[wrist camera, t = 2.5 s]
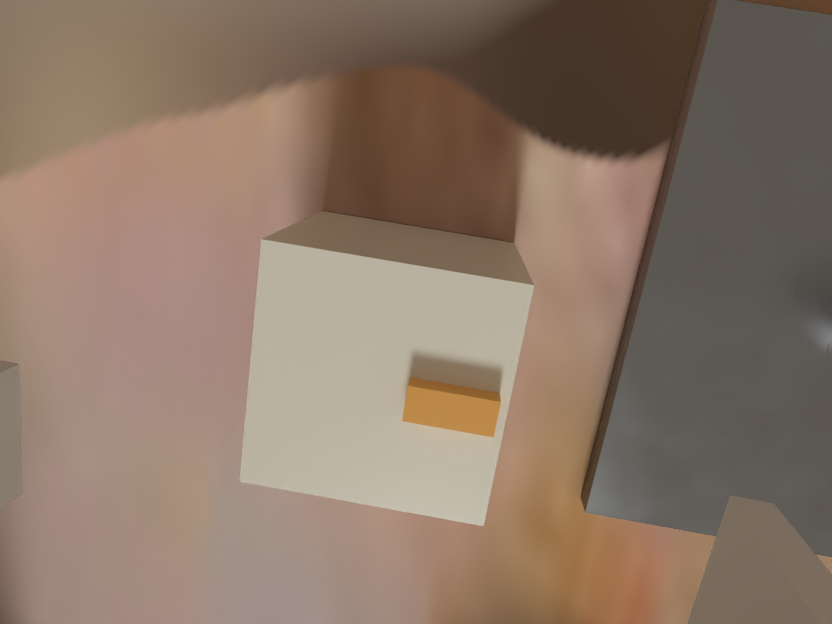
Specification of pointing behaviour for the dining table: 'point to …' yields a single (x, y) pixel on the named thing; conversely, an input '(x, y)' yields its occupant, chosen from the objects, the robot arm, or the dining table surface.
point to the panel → (733, 293)
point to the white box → (383, 364)
